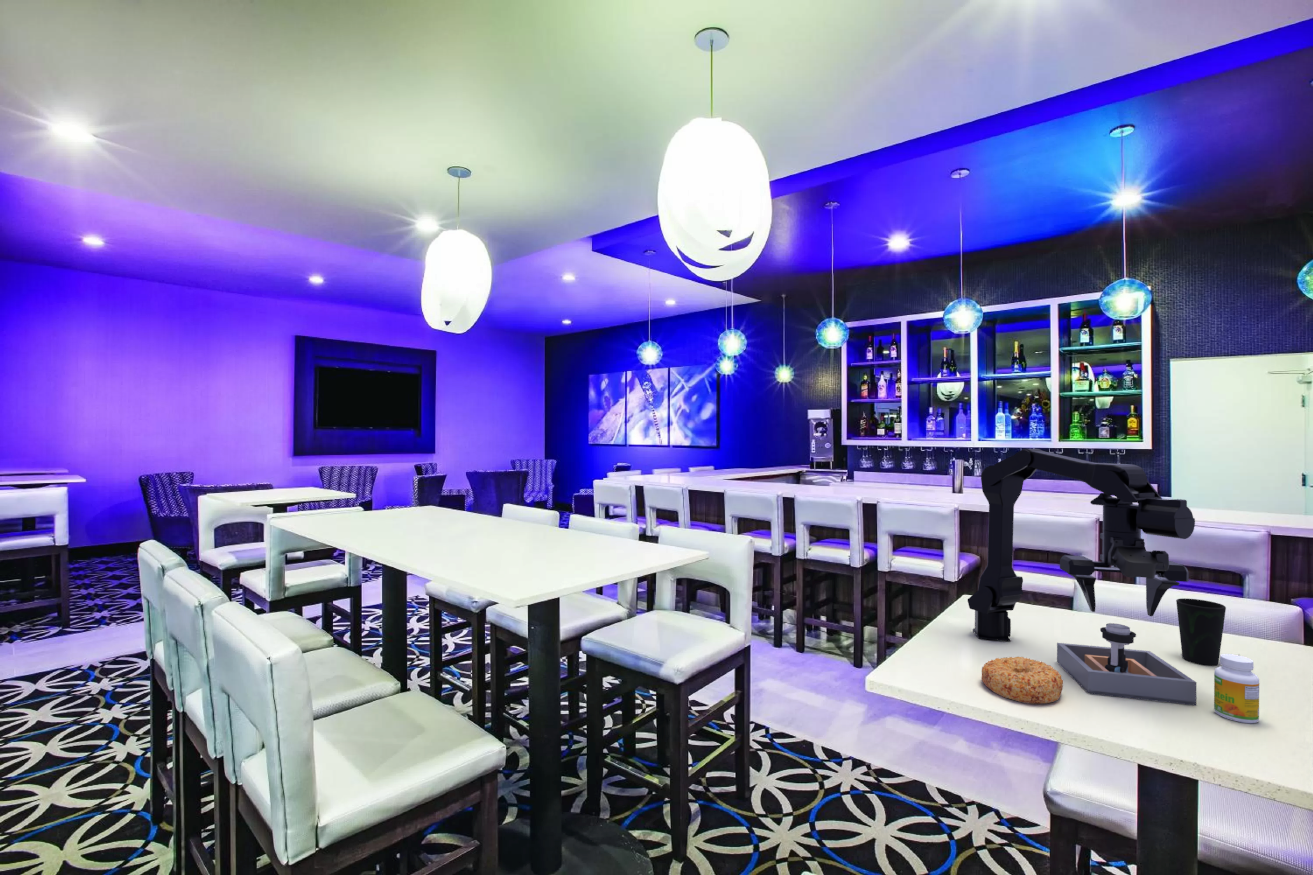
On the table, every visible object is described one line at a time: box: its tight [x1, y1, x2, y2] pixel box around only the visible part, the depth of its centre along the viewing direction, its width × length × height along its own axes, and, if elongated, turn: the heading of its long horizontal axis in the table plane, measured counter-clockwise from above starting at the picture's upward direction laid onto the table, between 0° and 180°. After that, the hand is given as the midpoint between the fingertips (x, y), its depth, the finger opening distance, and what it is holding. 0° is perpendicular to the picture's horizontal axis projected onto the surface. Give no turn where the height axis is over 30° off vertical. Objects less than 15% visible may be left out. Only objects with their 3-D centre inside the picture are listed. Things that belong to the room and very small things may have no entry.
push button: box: [1099, 622, 1137, 673], centre depth 114 cm, size 7×5×10 cm
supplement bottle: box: [1213, 653, 1260, 724], centre depth 100 cm, size 5×5×10 cm
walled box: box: [1056, 642, 1197, 706], centre depth 114 cm, size 16×16×4 cm
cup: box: [1175, 597, 1227, 667], centre depth 125 cm, size 8×8×12 cm
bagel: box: [981, 656, 1064, 705], centre depth 110 cm, size 13×14×5 cm
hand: (1121, 613), depth 114 cm, fingers open, 9 cm apart
